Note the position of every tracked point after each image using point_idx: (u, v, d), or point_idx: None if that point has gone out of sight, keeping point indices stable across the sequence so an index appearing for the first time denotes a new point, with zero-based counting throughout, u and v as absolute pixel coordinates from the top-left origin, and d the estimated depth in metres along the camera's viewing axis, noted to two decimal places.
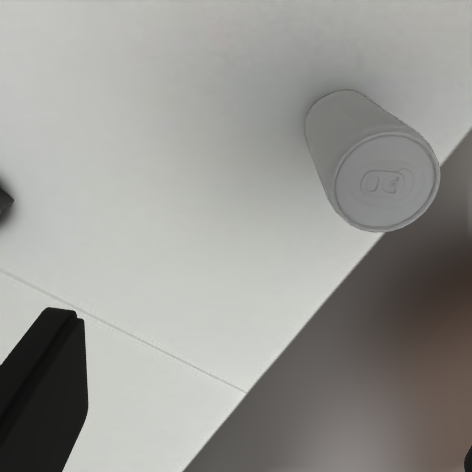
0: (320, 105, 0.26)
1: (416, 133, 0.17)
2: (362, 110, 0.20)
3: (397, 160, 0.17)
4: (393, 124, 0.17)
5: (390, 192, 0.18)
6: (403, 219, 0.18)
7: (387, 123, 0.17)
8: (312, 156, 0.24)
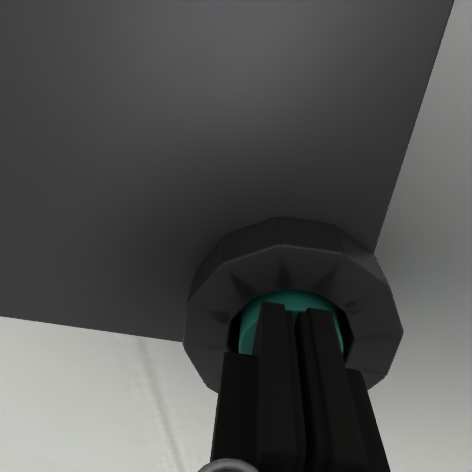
0: None
1: None
2: None
3: None
4: None
5: None
6: None
7: None
8: None
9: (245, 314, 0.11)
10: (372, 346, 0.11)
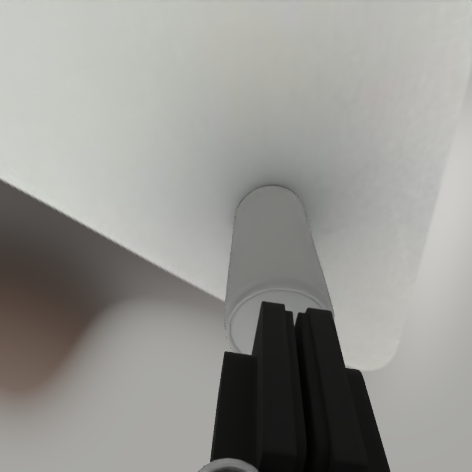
0: (301, 208, 0.25)
1: None
2: None
3: None
4: None
5: None
6: (239, 348, 0.18)
7: None
8: (263, 216, 0.22)
9: None
10: None
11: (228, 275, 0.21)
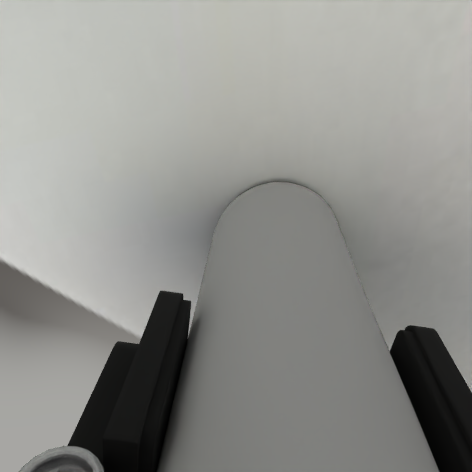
0: (337, 226, 0.13)
1: None
2: None
3: None
4: None
5: None
6: None
7: None
8: (265, 245, 0.10)
9: None
10: None
11: (176, 388, 0.09)
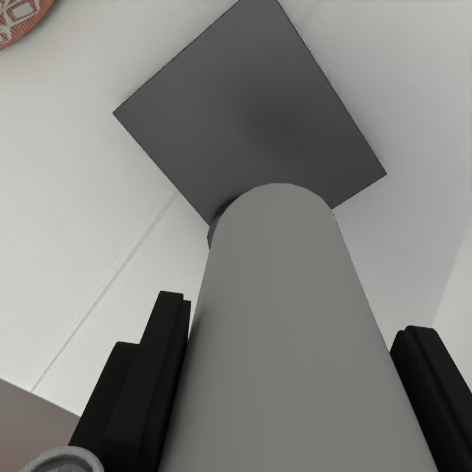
0: (337, 227, 0.13)
1: None
2: None
3: None
4: None
5: None
6: None
7: None
8: (265, 246, 0.10)
9: None
10: None
11: (176, 390, 0.09)
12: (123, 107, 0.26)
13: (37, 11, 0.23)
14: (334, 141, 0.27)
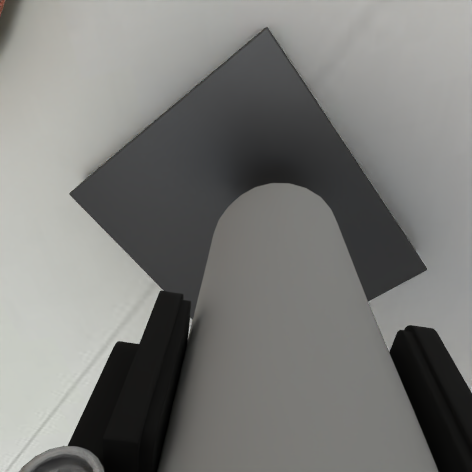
0: (337, 227, 0.13)
1: None
2: None
3: None
4: None
5: None
6: None
7: None
8: (265, 246, 0.10)
9: None
10: None
11: (176, 390, 0.09)
12: (83, 187, 0.20)
13: None
14: (359, 230, 0.20)
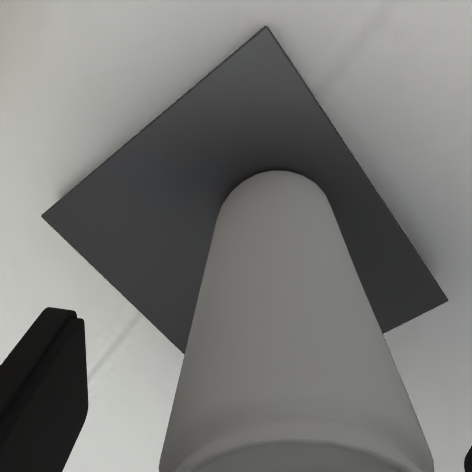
0: (330, 210, 0.14)
1: None
2: None
3: None
4: None
5: None
6: None
7: None
8: (265, 223, 0.12)
9: None
10: None
11: (187, 344, 0.10)
12: (57, 209, 0.18)
13: None
14: (372, 257, 0.18)
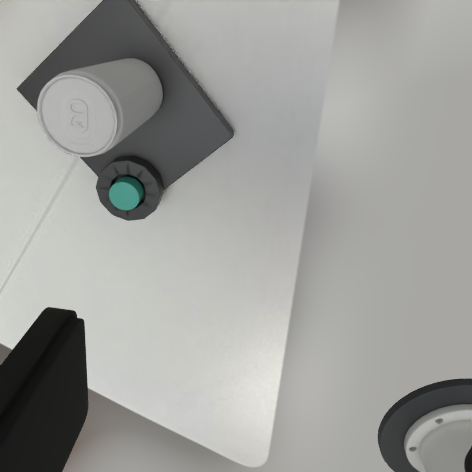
0: (148, 72, 0.31)
1: (118, 138, 0.24)
2: (138, 102, 0.27)
3: (96, 126, 0.23)
4: (123, 122, 0.24)
5: (72, 122, 0.23)
6: (51, 134, 0.24)
7: (124, 117, 0.24)
8: None
9: (119, 180, 0.35)
10: (146, 208, 0.37)
11: None
12: (24, 84, 0.34)
13: None
14: (188, 110, 0.34)
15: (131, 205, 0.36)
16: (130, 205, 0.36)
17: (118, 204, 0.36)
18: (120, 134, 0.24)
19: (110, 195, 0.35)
